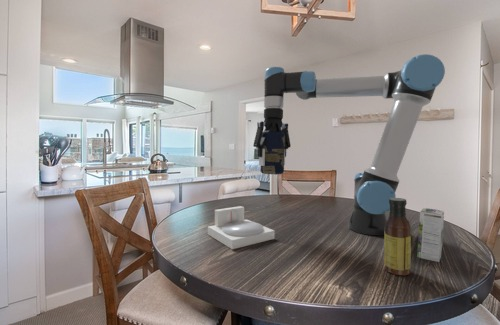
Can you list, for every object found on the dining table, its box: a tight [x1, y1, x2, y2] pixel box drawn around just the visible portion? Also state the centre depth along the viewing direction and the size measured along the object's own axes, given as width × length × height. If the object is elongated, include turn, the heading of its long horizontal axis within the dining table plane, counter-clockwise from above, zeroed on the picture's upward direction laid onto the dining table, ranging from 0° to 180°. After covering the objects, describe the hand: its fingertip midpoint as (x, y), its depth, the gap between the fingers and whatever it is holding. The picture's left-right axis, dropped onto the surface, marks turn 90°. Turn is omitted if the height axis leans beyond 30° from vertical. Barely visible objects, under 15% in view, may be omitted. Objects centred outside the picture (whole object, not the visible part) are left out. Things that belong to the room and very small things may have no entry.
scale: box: [207, 205, 276, 250], centre depth 99 cm, size 18×18×9 cm
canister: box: [259, 131, 285, 175], centre depth 106 cm, size 10×10×18 cm
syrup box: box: [416, 207, 445, 263], centre depth 81 cm, size 6×6×14 cm
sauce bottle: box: [383, 197, 412, 276], centre depth 71 cm, size 6×6×20 cm
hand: (272, 165), depth 106 cm, fingers closed on canister, 9 cm apart
